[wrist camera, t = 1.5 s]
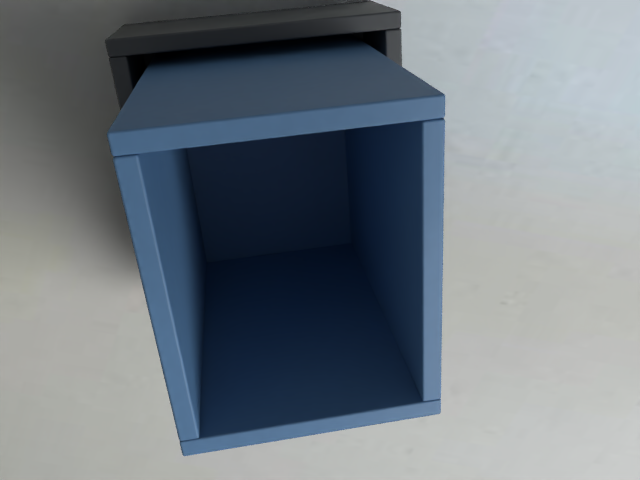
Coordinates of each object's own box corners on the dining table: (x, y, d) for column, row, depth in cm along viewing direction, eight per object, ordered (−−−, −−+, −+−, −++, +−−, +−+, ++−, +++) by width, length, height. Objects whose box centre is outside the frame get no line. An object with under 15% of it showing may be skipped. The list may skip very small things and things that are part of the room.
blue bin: (155, 51, 25) (105, 132, 14) (350, 32, 25) (446, 94, 15) (196, 269, 29) (182, 457, 18) (361, 246, 30) (441, 414, 19)
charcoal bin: (123, 24, 24) (104, 39, 20) (372, 0, 25) (401, 10, 21) (177, 286, 30) (171, 339, 26) (381, 258, 31) (406, 305, 27)
